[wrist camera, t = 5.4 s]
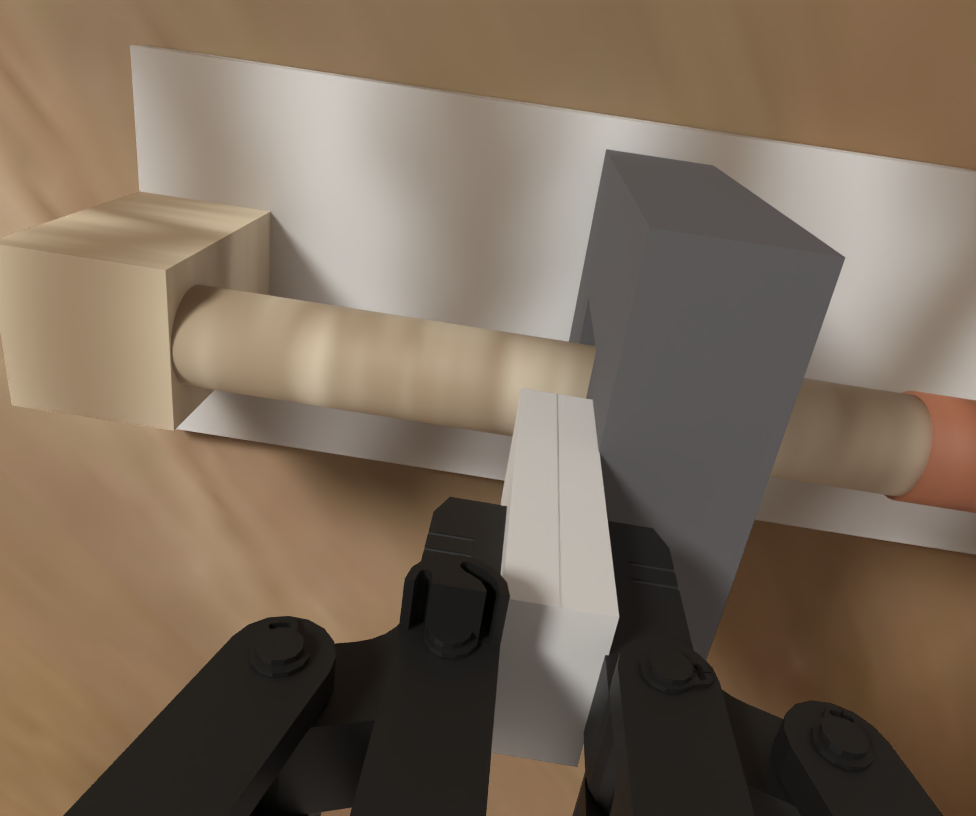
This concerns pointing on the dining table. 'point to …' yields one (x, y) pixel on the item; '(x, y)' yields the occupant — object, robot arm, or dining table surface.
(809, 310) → the collar
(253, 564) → the dining table surface
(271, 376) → the rail
